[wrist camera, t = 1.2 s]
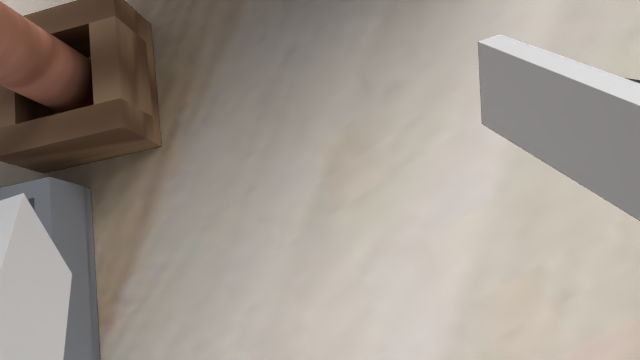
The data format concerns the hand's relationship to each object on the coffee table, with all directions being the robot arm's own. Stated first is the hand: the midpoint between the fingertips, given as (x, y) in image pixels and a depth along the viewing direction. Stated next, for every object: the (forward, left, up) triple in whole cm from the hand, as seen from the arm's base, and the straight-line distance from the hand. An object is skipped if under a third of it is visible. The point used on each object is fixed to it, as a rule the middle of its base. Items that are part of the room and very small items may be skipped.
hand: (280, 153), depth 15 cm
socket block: (-14, -19, -20) cm, 31 cm away
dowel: (-14, -19, -19) cm, 31 cm away
